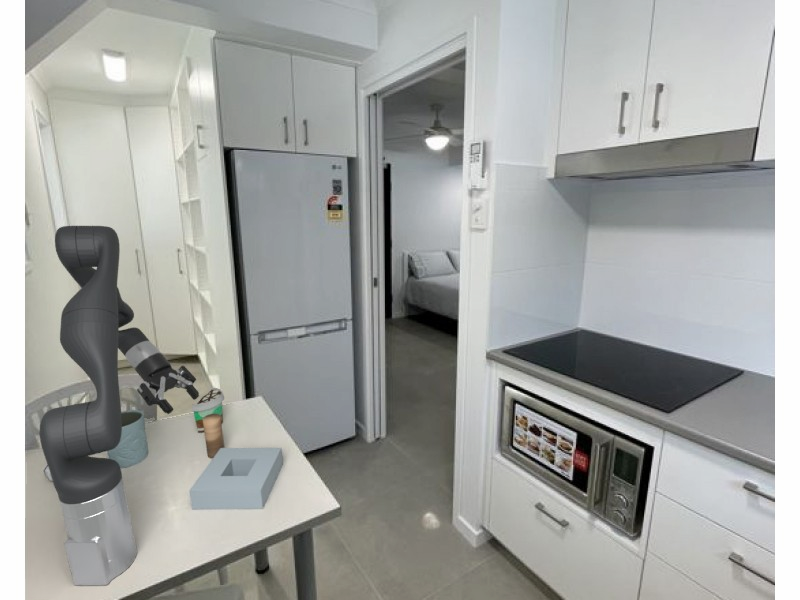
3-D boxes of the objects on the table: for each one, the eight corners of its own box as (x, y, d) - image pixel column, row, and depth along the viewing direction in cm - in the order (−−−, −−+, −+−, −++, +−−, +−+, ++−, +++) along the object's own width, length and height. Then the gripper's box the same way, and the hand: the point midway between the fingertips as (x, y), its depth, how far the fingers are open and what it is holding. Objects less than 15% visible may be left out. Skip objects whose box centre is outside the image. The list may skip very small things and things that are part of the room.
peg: (220, 458, 109) (216, 421, 106) (204, 458, 109) (199, 421, 106) (227, 448, 113) (223, 413, 110) (212, 448, 113) (207, 413, 110)
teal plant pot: (146, 464, 106) (139, 424, 103) (101, 474, 103) (92, 432, 100) (153, 444, 115) (147, 406, 113) (112, 452, 112) (104, 413, 109)
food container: (215, 435, 119) (211, 405, 117) (195, 435, 120) (191, 405, 117) (233, 414, 131) (230, 386, 129) (215, 414, 132) (211, 386, 129)
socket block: (262, 508, 90) (260, 489, 89) (192, 509, 90) (189, 490, 89) (283, 464, 106) (281, 447, 105) (222, 464, 106) (220, 447, 105)
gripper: (128, 362, 104) (167, 409, 103) (175, 344, 117) (210, 386, 116) (117, 378, 107) (155, 424, 106) (164, 359, 120) (198, 400, 119)
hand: (184, 404), depth 111 cm, fingers open, 8 cm apart
